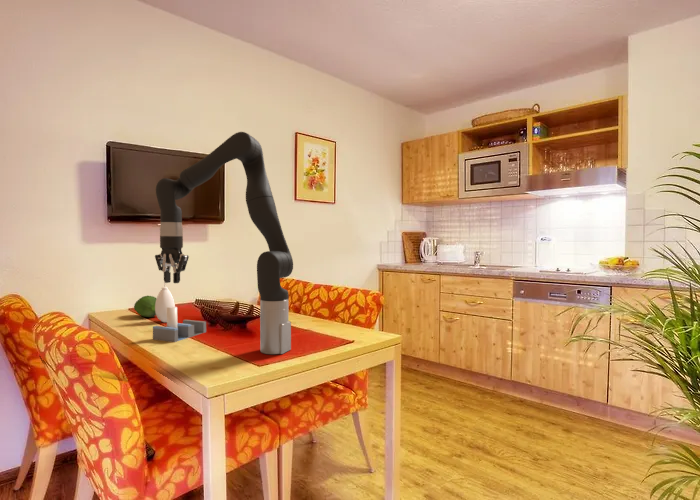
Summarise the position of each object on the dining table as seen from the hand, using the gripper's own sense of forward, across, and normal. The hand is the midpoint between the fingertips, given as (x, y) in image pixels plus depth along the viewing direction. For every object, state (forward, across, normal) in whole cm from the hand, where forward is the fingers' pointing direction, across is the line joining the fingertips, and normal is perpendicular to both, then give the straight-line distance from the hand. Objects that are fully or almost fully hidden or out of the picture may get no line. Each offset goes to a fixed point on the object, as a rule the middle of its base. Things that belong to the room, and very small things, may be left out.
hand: (171, 282), depth 144 cm
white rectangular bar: (+20, 0, 0) cm, 20 cm away
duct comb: (+21, 0, -4) cm, 22 cm away
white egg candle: (+21, +27, -24) cm, 42 cm away
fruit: (+21, +44, -30) cm, 57 cm away
